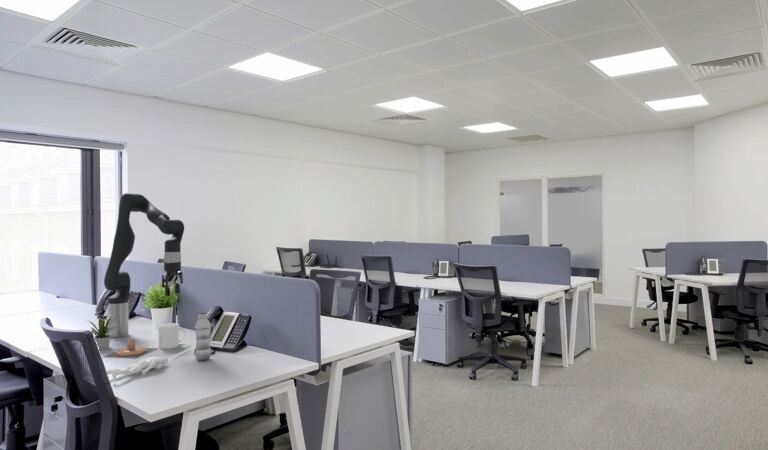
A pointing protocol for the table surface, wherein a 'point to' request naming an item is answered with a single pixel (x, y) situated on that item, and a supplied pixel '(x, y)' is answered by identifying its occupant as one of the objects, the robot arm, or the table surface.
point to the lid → (131, 349)
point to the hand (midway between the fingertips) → (172, 294)
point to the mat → (148, 350)
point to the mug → (169, 335)
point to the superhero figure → (139, 366)
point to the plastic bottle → (203, 337)
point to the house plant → (102, 333)
